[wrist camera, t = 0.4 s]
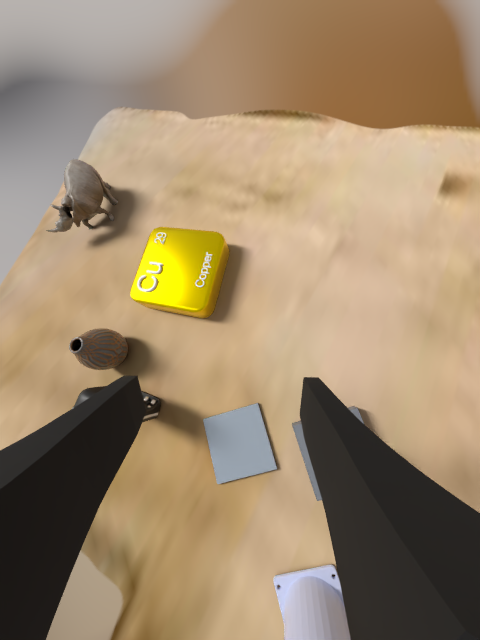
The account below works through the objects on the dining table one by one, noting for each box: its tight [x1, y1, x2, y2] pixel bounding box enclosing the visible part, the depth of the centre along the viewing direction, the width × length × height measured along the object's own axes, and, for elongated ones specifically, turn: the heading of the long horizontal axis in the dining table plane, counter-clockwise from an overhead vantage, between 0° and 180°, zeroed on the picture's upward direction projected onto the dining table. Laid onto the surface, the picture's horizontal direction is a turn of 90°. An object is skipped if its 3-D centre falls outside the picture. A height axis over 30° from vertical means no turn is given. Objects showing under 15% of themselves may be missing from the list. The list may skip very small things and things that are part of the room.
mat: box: [203, 403, 277, 484], centre depth 34 cm, size 9×9×1 cm
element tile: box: [130, 227, 229, 318], centre depth 41 cm, size 15×15×5 cm
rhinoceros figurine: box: [46, 160, 118, 232], centre depth 47 cm, size 8×14×15 cm
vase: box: [69, 329, 128, 370], centre depth 37 cm, size 7×7×9 cm
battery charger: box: [72, 386, 160, 422], centre depth 33 cm, size 7×4×11 cm, turn 72°
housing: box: [292, 406, 364, 501], centre depth 30 cm, size 9×9×2 cm
